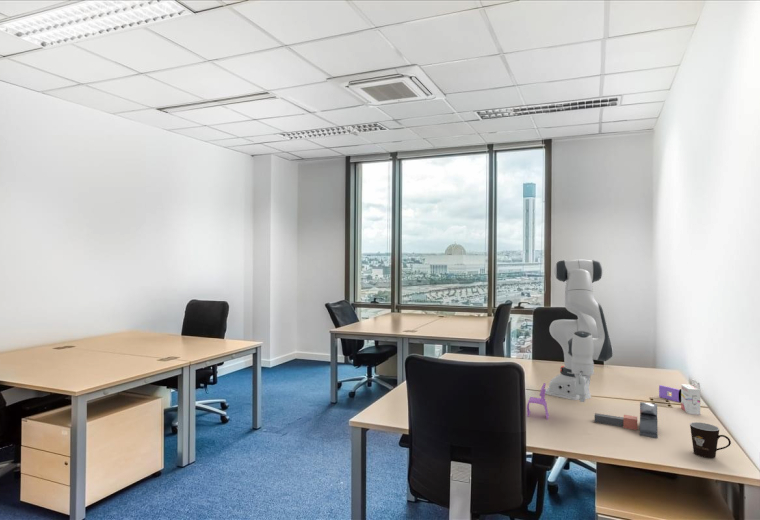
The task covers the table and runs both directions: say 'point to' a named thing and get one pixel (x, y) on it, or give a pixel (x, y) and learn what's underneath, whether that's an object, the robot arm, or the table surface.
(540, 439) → the table surface
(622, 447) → the table surface
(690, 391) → the ink cartridge box
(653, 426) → the housing
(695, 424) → the coffee mug
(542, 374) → the table surface
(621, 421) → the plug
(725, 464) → the table surface
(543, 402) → the toy chair
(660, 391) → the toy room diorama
